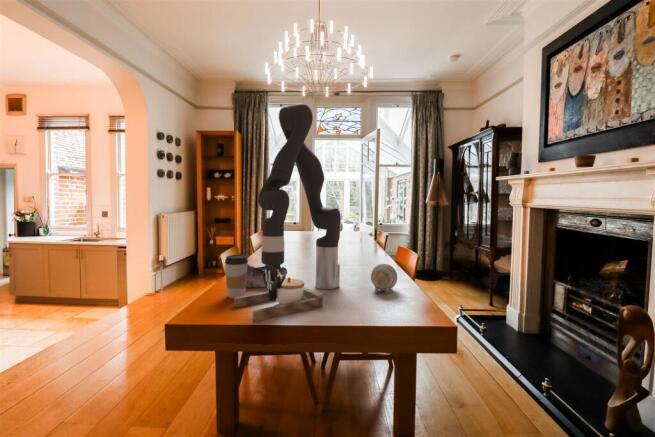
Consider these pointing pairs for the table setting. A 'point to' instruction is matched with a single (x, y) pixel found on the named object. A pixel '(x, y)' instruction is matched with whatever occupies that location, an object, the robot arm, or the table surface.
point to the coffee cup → (236, 275)
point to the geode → (258, 276)
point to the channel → (308, 302)
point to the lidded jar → (290, 291)
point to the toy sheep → (383, 277)
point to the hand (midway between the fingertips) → (272, 300)
